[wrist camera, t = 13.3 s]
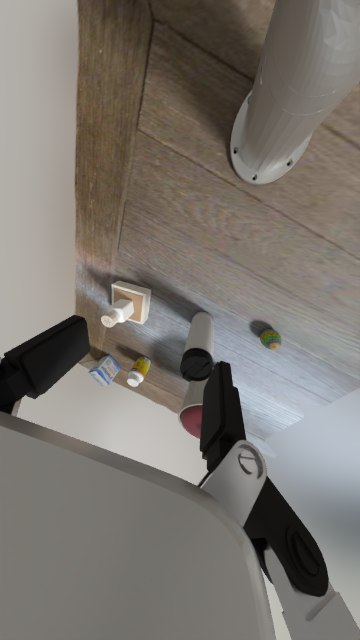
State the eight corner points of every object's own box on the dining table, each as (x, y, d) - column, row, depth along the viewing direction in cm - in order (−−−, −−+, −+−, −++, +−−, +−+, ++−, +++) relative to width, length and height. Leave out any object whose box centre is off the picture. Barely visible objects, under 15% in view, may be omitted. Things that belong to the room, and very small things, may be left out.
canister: (212, 350, 49) (211, 415, 31) (246, 381, 53) (263, 455, 35) (177, 372, 58) (160, 433, 40) (209, 397, 62) (207, 464, 44)
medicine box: (121, 367, 63) (109, 384, 56) (114, 369, 65) (101, 386, 58) (110, 354, 61) (95, 370, 53) (102, 356, 62) (87, 372, 55)
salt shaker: (133, 299, 41) (113, 315, 33) (135, 312, 43) (116, 330, 35) (120, 298, 42) (97, 312, 33) (122, 310, 44) (101, 327, 35)
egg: (277, 326, 41) (286, 338, 36) (276, 340, 43) (285, 354, 38) (258, 327, 42) (264, 340, 37) (258, 341, 44) (264, 355, 39)
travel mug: (187, 322, 46) (172, 372, 29) (201, 307, 43) (192, 353, 26) (203, 333, 47) (197, 388, 30) (217, 319, 44) (220, 372, 26)
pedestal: (119, 280, 44) (111, 284, 40) (151, 289, 43) (145, 294, 39) (119, 309, 49) (111, 315, 45) (147, 318, 48) (142, 324, 45)
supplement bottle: (144, 353, 57) (132, 375, 48) (154, 363, 58) (143, 385, 49) (135, 358, 59) (121, 379, 50) (144, 367, 60) (132, 389, 52)
